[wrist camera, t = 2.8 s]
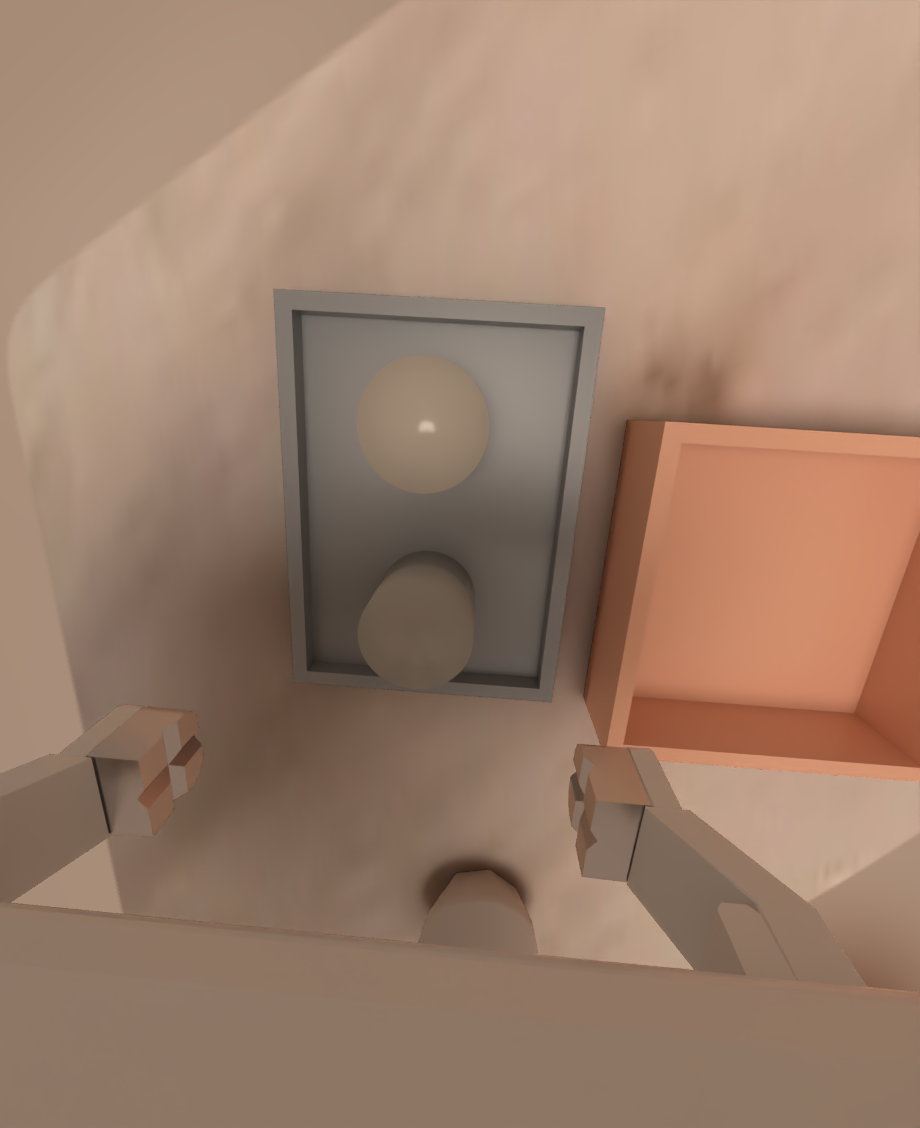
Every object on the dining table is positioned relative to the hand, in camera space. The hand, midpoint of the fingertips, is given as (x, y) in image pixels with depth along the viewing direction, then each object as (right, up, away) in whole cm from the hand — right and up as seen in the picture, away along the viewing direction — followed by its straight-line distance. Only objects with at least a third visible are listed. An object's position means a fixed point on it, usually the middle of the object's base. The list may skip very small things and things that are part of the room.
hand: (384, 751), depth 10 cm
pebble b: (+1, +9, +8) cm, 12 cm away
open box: (+14, +3, +10) cm, 17 cm away
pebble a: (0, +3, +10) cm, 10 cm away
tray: (0, +6, +9) cm, 11 cm away
